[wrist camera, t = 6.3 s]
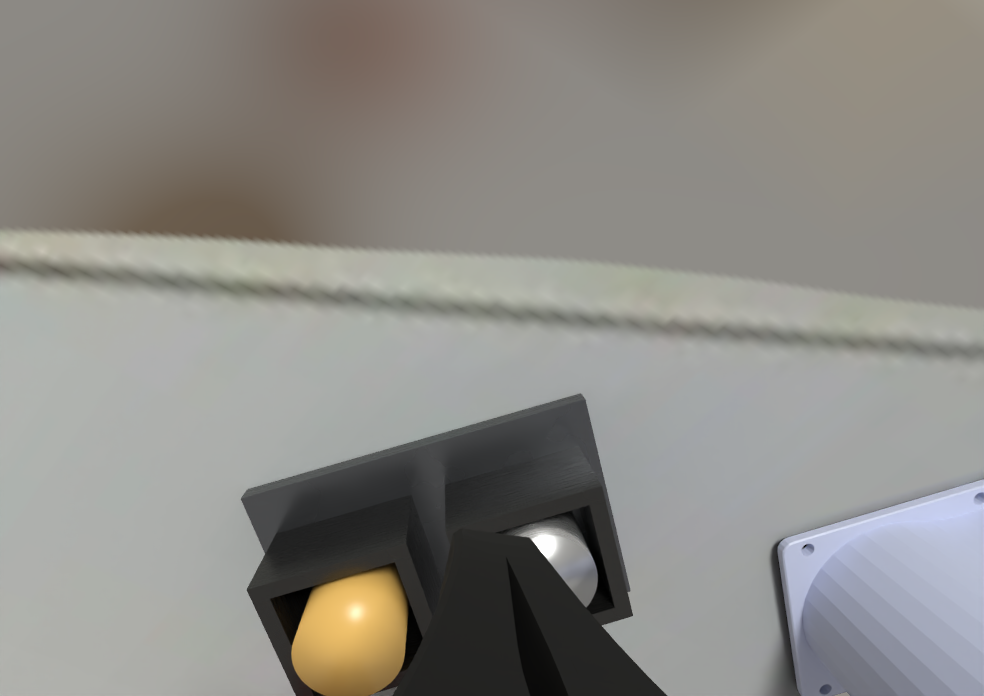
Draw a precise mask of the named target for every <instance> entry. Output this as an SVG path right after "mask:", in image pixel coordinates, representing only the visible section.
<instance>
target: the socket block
mask: <svg viewBox="0 0 984 696" xmlns="http://www.w3.org/2000/svg"><path fill="white" fill-rule="evenodd" d="M241 500H242V502H243V505H244V507H245V509H246V511H247V514H248V516H249V518H250V520H251V523H252V525H253V527H254V529H255V532H256V534H257V536H258V538H259V541H260V543H261V545H262V547H263V550H264V552H265V556H264V557H263V559H262V561H261V563H260V565H259V567H258V569H257V571H256V573H255V575H254V577H253V579H252V581H251V583H250V584H249V586H248V588H247V591H248V594H249V596H250V598H251V600H252V602H253V604H254V606H255V609H256V611H257V613H258V615H259V617H260V619H261V621H262V624H263V626H264V628H265V630H266V632H267V634H268V636H269V639H270V641H271V643H272V645H273V647H274V649H275V651H276V654H277V656H278V658H279V660H280V662H281V664H282V666H283V669H284V671H285V673H286V675H287V677H288V679H289V681H290V684H291V686H292V688H293V690H294V692H295V694H296V696H325V695H323V694H320V693H318V692H316V691H314V690H313V689H311V688H310V687H308V686H307V685H306V684H305V683H304V682H303V681H302V680H301V679H300V677H299V676H298V675H297V673H296V671H295V669H294V666H293V663H292V655H291V651H292V645H293V642H294V639H295V636H296V633H297V630H298V627H299V624H300V621H301V618H302V615H303V613H304V610H305V607H306V604H307V601H308V598H309V595H310V592H311V590H312V587H313V586H315V585H319V584H322V583H325V582H329V581H332V580H336V579H339V578H342V577H346V576H349V575H353V574H356V573H360V572H363V571H366V570H370V569H373V568H377V567H380V566H383V565H387V564H390V563H394V562H395V564H396V567H397V570H398V572H399V575H400V578H401V580H402V583H403V586H404V589H405V591H406V594H407V597H408V599H409V611H408V622H407V634H406V646H405V657H404V662H403V665H402V668H401V669H400V671H399V673H398V675H397V676H396V677H395V679H394V680H393V681H392V682H391V683H390V684H388V685H387V686H386V687H385V688H383V689H382V690H380V691H383V690H386V689H390V688H393V687H396V686H399V684H400V682H401V680H402V679H403V677H404V675H405V673H406V671H407V669H408V668H409V666H410V664H411V662H412V660H413V658H414V656H415V654H416V652H417V650H418V648H419V646H420V644H421V642H422V640H423V637H424V635H425V633H426V631H427V629H428V626H429V624H430V622H431V620H432V618H433V616H434V613H435V611H436V609H437V606H438V601H439V597H440V592H441V587H442V583H443V578H444V574H445V569H446V564H447V560H448V555H449V550H450V546H451V541H452V536H453V533H455V532H456V531H458V530H459V529H461V528H462V529H469V530H477V531H484V532H492V533H496V532H499V531H503V530H506V529H510V528H513V527H517V526H520V525H523V524H527V523H530V522H534V521H537V520H540V519H544V518H547V517H551V516H554V515H557V514H561V513H564V512H568V511H571V510H572V512H573V515H574V517H575V519H576V521H577V524H578V526H579V528H580V531H581V533H582V535H583V537H584V540H585V542H586V544H587V546H588V549H589V551H590V553H591V556H592V558H593V560H594V562H595V565H596V568H597V574H598V582H597V588H596V592H595V594H594V596H593V599H592V600H591V602H590V604H589V605H588V606H587V607H586V608H587V609H588V611H589V612H590V613H591V614H592V615H593V617H594V618H595V619H596V620H597V621H598V622H599V624H600V625H604V624H608V623H611V622H614V621H618V620H621V619H625V618H628V617H631V616H633V614H632V609H631V605H630V601H629V597H628V593H627V592H629V591H630V587H629V582H628V578H627V574H626V570H625V565H624V561H623V557H622V553H621V548H620V544H619V540H618V536H617V532H616V527H615V523H614V519H613V515H612V510H611V506H610V502H609V498H608V493H607V489H606V485H605V481H604V477H603V472H602V468H601V464H600V460H599V455H598V451H597V447H596V443H595V439H594V434H593V430H592V426H591V422H590V417H589V413H588V409H587V405H586V400H585V398H584V397H583V396H582V394H577V395H574V396H570V397H567V398H563V399H560V400H557V401H553V402H550V403H546V404H543V405H539V406H536V407H532V408H529V409H525V410H522V411H518V412H515V413H511V414H508V415H504V416H501V417H498V418H494V419H491V420H487V421H484V422H480V423H477V424H473V425H470V426H466V427H463V428H459V429H456V430H452V431H449V432H445V433H442V434H439V435H435V436H432V437H428V438H425V439H421V440H418V441H414V442H411V443H407V444H404V445H400V446H397V447H393V448H390V449H386V450H383V451H380V452H376V453H373V454H369V455H366V456H362V457H359V458H355V459H352V460H348V461H345V462H341V463H338V464H334V465H331V466H327V467H324V468H321V469H317V470H314V471H310V472H307V473H303V474H300V475H296V476H293V477H289V478H286V479H282V480H279V481H275V482H272V483H269V484H265V485H262V486H258V487H255V488H251V489H248V490H247V491H246V492H245V493H244V495H243V496H242V498H241ZM380 691H378V692H380Z"/></svg>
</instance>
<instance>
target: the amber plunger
mask: <svg viewBox="0 0 984 696" xmlns="http://www.w3.org/2000/svg"><path fill="white" fill-rule="evenodd" d="M408 611H409V599H408V597H407V594H406V591H405V589H404V586H403V583H402V580H401V578H400V575H399V572H398V570H397V567H396V564H395V562H394V563H390V564H387V565H383V566H380V567H377V568H373V569H370V570H366V571H363V572H360V573H356V574H353V575H349V576H346V577H342V578H339V579H336V580H332V581H329V582H325V583H322V584H319V585H315V586H313V587H312V590H311V592H310V595H309V598H308V601H307V604H306V607H305V610H304V613H303V615H302V618H301V621H300V624H299V627H298V630H297V633H296V636H295V639H294V642H293V645H292V651H291V655H292V663H293V666H294V669H295V671H296V673H297V675H298V676H299V677H300V679H301V680H302V681H303V682H304V683H305V684H306V685H307V686H308V687H310V688H311V689H313V690H314V691H316V692H318V693H320V694H323V695H325V696H369V695H371V694H374V693H376V692H378V691H380V690H382V689H383V688H385V687H386V686H387V685H388V684H390V683H391V682H392V681H393V680H394V679H395V677H396V676H397V675H398V673H399V671H400V669H401V668H402V665H403V662H404V657H405V646H406V634H407V622H408Z"/></svg>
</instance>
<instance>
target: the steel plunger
mask: <svg viewBox="0 0 984 696" xmlns="http://www.w3.org/2000/svg"><path fill="white" fill-rule="evenodd" d="M496 533H499V534H507V535H514V536H521V537H529V538H530V539H531V540H532V541H533V542H534V543H535V544H536V546H537V547H538V548H539V549H540V551H541V552H542V553H543V554H544V556H545V557H546V558H547V560H548V561H549V562H550V563H551V565H552V566H553V567H554V568H555V570H556V571H557V572H558V574H559V575H560V576H561V577H562V579H563V580H564V581H565V582H566V584H567V585H568V586H569V587H570V589H571V590H572V591H573V592H574V594H575V595H576V596H577V597H578V599H579V600H580V601H581V602H582V603H583V605H584V606H585V607H587V606H588V605H589V604H590V602H591V600H592V599H593V596H594V594H595V592H596V588H597V582H598V574H597V568H596V565H595V562H594V560H593V558H592V556H591V553H590V551H589V549H588V546H587V544H586V542H585V540H584V537H583V535H582V533H581V531H580V528H579V526H578V524H577V521H576V519H575V517H574V515H573V512H572V510H571V511H568V512H564V513H561V514H557V515H554V516H551V517H547V518H544V519H540V520H537V521H534V522H530V523H527V524H523V525H520V526H517V527H513V528H510V529H506V530H503V531H499V532H496Z"/></svg>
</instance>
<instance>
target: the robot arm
mask: <svg viewBox="0 0 984 696" xmlns="http://www.w3.org/2000/svg"><path fill="white" fill-rule="evenodd" d="M806 544H807V546H806V547H805V548H803V546H804V545H806ZM802 548H803V549H802ZM778 558H779V565H780V572H781V579H782V586H783V593H784V600H785V607H786V614H787V620H788V627H789V634H790V641H791V648H792V655H793V662H794V669H795V676H796V683H797V689H798V692H799V693H800V695H801V696H834V695H837V694H840V693H844V692H847V693H848V694H849V695H850V696H984V479H983V480H979V481H976V482H972V483H969V484H966V485H962V486H959V487H956V488H952V489H949V490H946V491H942V492H939V493H935V494H932V495H929V496H925V497H922V498H919V499H915V500H912V501H908V502H905V503H902V504H898V505H895V506H892V507H888V508H885V509H882V510H878V511H875V512H871V513H868V514H865V515H861V516H858V517H855V518H851V519H848V520H844V521H841V522H838V523H834V524H831V525H828V526H824V527H821V528H817V529H814V530H811V531H807V532H804V533H801V534H797V535H794V536H791V537H788V538H786V539H783V540H782V541H781V542H780V544H779V546H778ZM393 696H667V695H666V694H665V693H664V692H663V691H662V690H661V689H660V688H659V687H658V686H657V685H656V684H655V683H654V682H653V681H652V680H651V679H650V678H649V677H648V676H647V675H646V674H645V673H644V672H643V671H642V670H641V669H640V668H639V666H638V665H637V664H636V663H635V662H634V661H633V660H632V659H631V658H630V657H629V656H628V655H627V654H626V653H625V651H624V650H623V649H622V648H621V647H620V646H619V645H618V644H617V643H616V642H615V641H614V640H613V638H612V637H611V636H610V635H609V634H608V633H607V632H606V630H605V629H604V628H603V627H602V626H601V625H600V624H599V622H598V621H597V620H596V619H595V618H594V617H593V615H592V614H591V613H590V612H589V611H588V609H587V608H586V607H585V606H584V605H583V603H582V602H581V601H580V600H579V599H578V597H577V596H576V595H575V594H574V592H573V591H572V590H571V589H570V587H569V586H568V585H567V584H566V582H565V581H564V580H563V579H562V577H561V576H560V575H559V574H558V572H557V571H556V570H555V568H554V567H553V566H552V565H551V563H550V562H549V561H548V560H547V558H546V557H545V556H544V554H543V553H542V552H541V551H540V549H539V548H538V547H537V546H536V544H535V543H534V542H533V541H532V540H531V539H530V538H529V537H521V536H514V535H507V534H499V533H492V532H484V531H477V530H469V529H462V528H461V529H459V530H458V531H456V532H455V533H453V536H452V541H451V546H450V550H449V555H448V560H447V564H446V569H445V574H444V578H443V583H442V587H441V592H440V597H439V601H438V606H437V609H436V611H435V613H434V616H433V618H432V620H431V622H430V624H429V626H428V629H427V631H426V633H425V635H424V637H423V640H422V642H421V644H420V646H419V648H418V650H417V652H416V654H415V656H414V658H413V660H412V662H411V664H410V666H409V668H408V669H407V671H406V673H405V675H404V677H403V679H402V680H401V682H400V684H399V686H398V687H397V689H396V691H395V692H394V694H393Z"/></svg>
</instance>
